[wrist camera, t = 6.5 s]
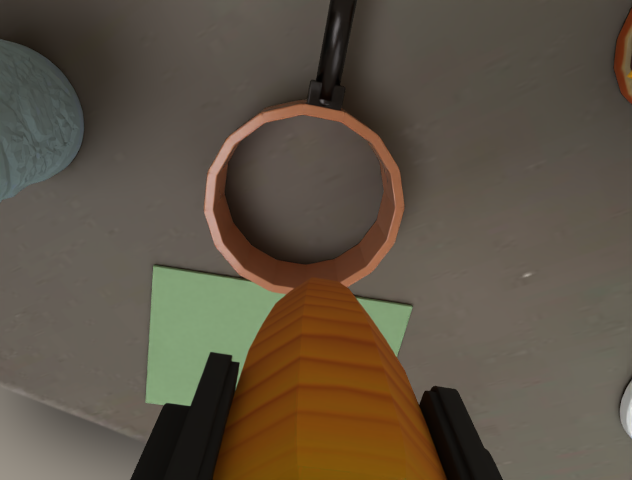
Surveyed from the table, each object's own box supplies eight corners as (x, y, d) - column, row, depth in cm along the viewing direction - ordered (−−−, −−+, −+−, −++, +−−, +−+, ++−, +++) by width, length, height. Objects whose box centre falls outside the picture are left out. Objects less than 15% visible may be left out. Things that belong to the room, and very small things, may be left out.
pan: (368, 281, 32) (376, 308, 29) (209, 256, 31) (196, 280, 28) (457, -56, 24) (485, -79, 21) (248, -107, 23) (238, -141, 20)
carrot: (275, 345, 19) (166, 1171, 5) (243, 243, 17) (-90, 1069, 3) (387, 323, 18) (638, 1139, 4) (366, 216, 16) (683, 1006, 2)
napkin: (411, 304, 33) (412, 306, 33) (372, 428, 38) (373, 431, 38) (154, 264, 31) (153, 266, 31) (146, 400, 36) (145, 402, 36)
